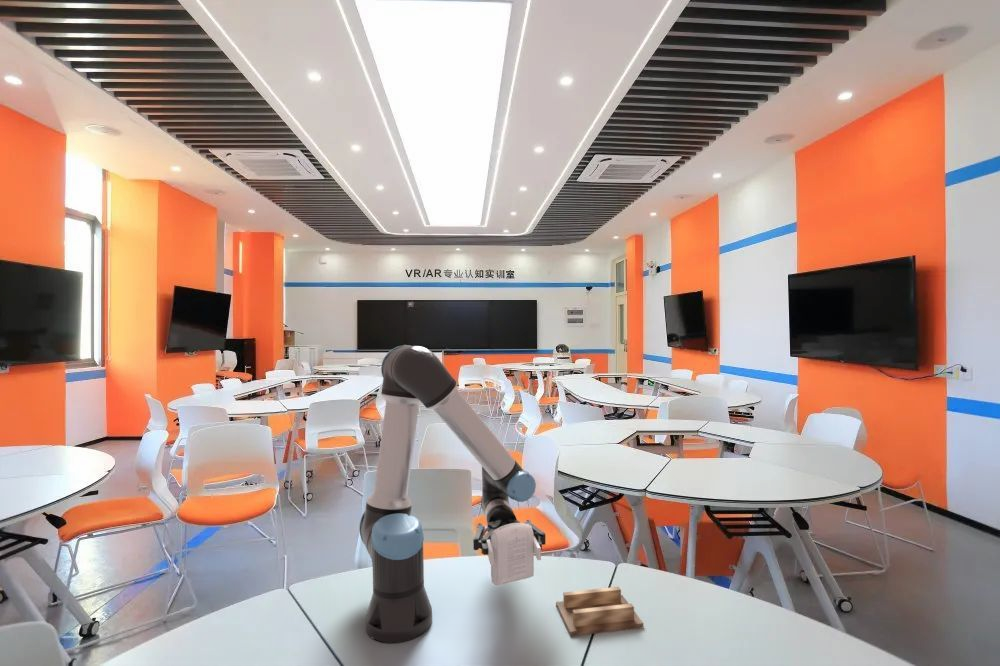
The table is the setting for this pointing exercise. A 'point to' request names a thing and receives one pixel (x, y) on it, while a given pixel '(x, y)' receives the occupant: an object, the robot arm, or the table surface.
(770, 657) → the table surface
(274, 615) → the table surface
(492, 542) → the photo printer
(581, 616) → the rack
